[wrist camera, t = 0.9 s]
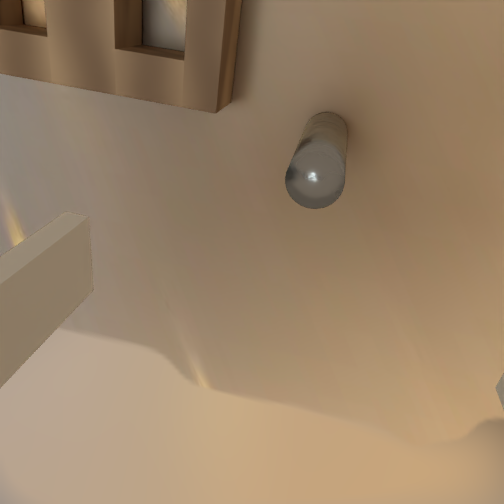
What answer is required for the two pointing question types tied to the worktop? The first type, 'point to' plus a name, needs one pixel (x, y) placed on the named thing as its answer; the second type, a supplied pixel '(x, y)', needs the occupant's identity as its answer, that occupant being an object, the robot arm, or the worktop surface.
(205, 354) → the worktop surface
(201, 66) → the socket block
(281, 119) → the worktop surface
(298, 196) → the peg
